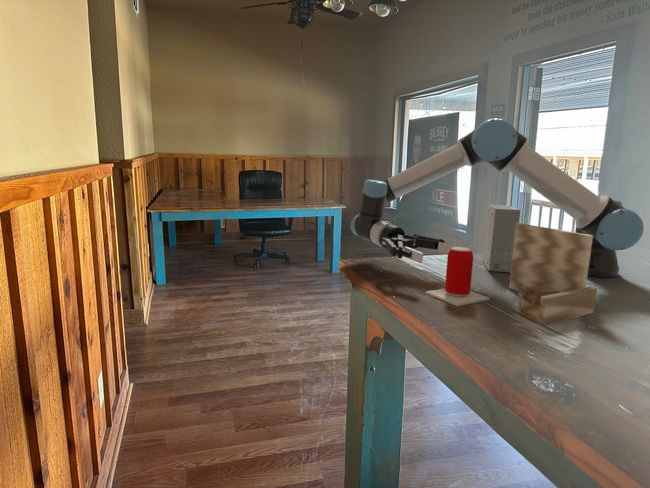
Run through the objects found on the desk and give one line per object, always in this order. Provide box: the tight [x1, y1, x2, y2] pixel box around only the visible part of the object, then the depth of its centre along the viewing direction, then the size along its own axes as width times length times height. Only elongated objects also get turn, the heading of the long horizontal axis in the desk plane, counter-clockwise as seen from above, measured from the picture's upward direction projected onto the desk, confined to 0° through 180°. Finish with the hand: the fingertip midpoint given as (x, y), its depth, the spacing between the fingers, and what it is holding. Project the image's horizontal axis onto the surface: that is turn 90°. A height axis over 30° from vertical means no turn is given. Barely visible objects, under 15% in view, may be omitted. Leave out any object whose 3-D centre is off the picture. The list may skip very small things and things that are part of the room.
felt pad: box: [425, 287, 490, 307], centre depth 115 cm, size 11×11×1 cm
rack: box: [508, 222, 598, 326], centre depth 110 cm, size 23×18×18 cm
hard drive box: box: [482, 204, 522, 274], centre depth 147 cm, size 16×8×20 cm, turn 168°
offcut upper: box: [523, 286, 560, 305], centre depth 103 cm, size 4×6×3 cm, turn 101°
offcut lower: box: [519, 299, 540, 321], centre depth 103 cm, size 5×7×4 cm
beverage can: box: [444, 246, 474, 297], centre depth 114 cm, size 6×6×12 cm
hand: (439, 255), depth 123 cm, fingers open, 13 cm apart
